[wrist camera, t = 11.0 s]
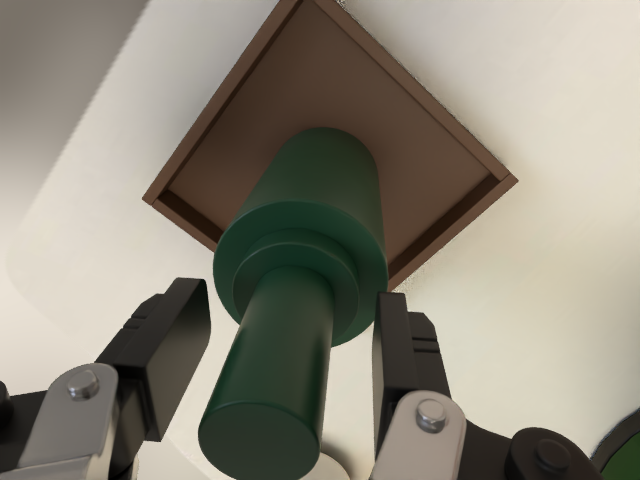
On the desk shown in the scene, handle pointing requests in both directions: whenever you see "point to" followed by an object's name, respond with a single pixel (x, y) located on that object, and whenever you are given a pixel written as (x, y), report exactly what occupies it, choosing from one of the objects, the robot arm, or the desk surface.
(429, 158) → the tray
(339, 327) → the bottle
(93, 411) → the robot arm
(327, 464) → the teacup
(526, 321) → the desk surface
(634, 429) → the desk lamp
